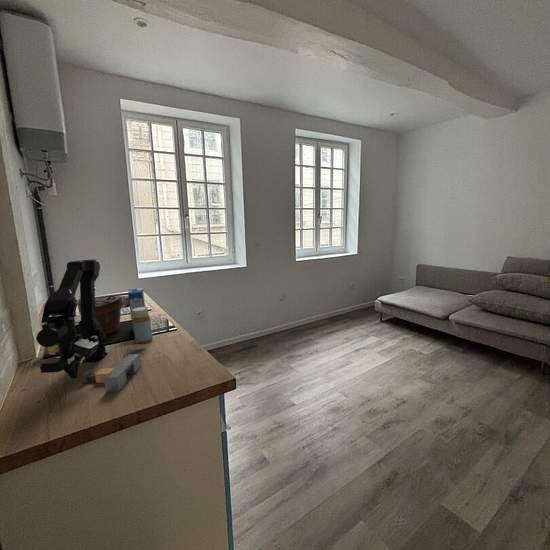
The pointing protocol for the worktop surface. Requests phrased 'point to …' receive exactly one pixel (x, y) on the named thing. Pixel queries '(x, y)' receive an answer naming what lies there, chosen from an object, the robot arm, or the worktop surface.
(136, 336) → the bottle
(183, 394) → the worktop surface
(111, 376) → the housing
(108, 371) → the plug
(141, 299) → the milk carton
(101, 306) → the brown plant pot
